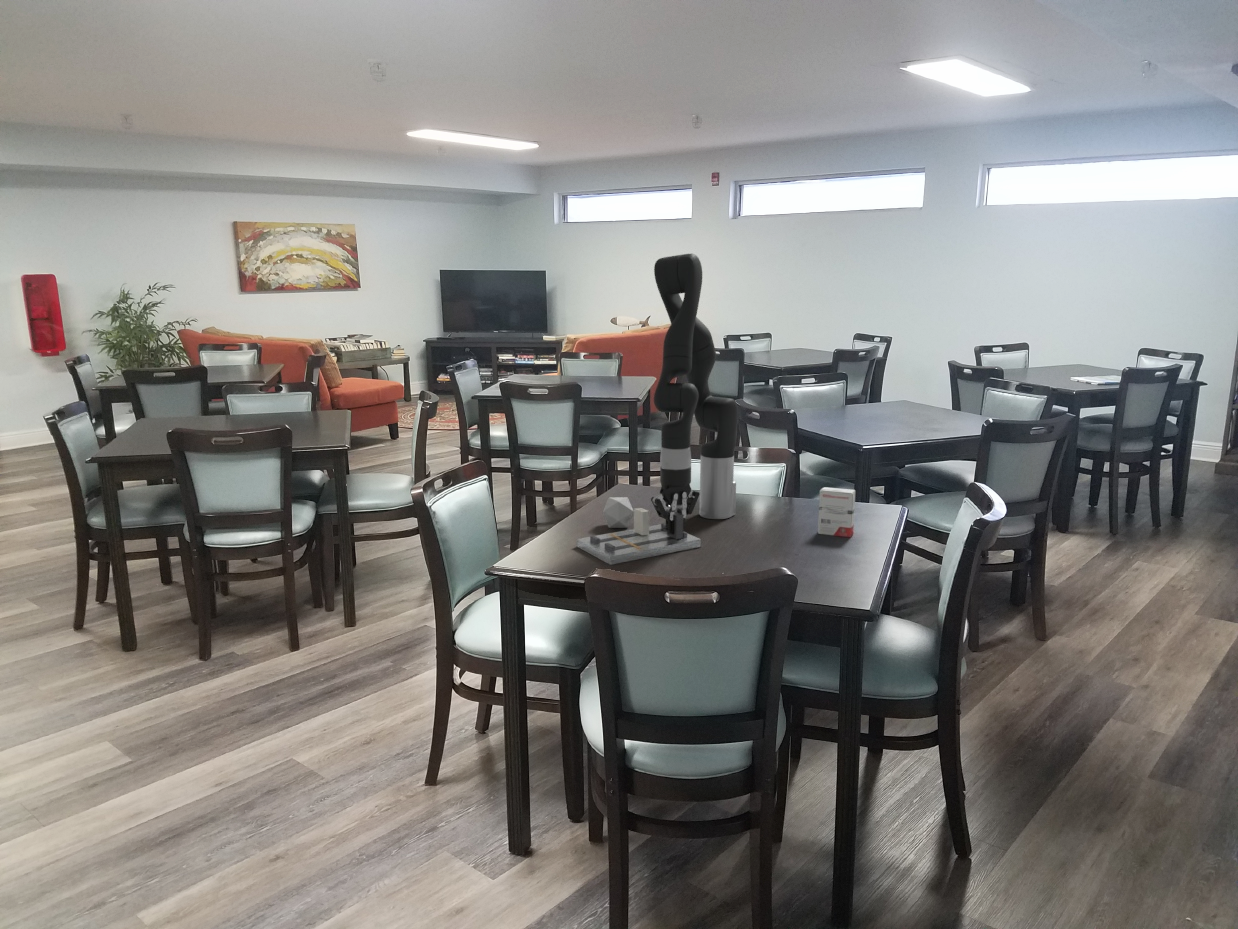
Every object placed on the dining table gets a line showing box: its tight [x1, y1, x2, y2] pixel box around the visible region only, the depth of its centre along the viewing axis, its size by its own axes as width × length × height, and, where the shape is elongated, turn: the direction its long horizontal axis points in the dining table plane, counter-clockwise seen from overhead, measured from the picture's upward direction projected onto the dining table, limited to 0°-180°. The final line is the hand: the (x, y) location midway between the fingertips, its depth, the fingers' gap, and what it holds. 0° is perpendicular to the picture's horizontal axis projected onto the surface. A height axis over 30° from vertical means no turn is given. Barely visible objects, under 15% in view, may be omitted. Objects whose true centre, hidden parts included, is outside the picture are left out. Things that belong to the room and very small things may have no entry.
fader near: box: [667, 511, 683, 539], centre depth 208 cm, size 2×4×6 cm, turn 31°
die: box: [602, 496, 634, 529], centre depth 225 cm, size 8×9×10 cm
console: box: [576, 522, 702, 566], centre depth 208 cm, size 26×16×3 cm, turn 121°
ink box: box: [817, 486, 856, 538], centre depth 218 cm, size 9×5×12 cm, turn 65°
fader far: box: [633, 507, 650, 536], centre depth 211 cm, size 2×4×6 cm, turn 31°
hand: (675, 532), depth 209 cm, fingers closed
